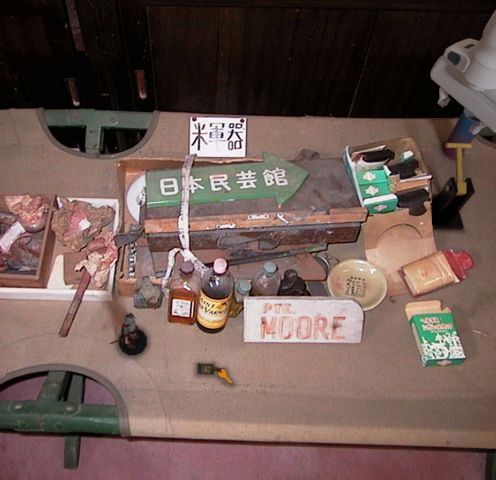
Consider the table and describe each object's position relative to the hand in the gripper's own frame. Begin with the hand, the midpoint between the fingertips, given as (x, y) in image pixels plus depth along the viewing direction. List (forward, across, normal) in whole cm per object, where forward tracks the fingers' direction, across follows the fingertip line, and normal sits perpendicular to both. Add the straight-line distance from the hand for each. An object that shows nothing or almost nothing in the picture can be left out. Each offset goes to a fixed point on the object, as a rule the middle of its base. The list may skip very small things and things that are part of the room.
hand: (457, 117), depth 116 cm
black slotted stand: (+31, -8, -4) cm, 32 cm away
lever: (+19, -4, -7) cm, 20 cm away
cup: (+31, +6, -23) cm, 39 cm away
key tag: (+30, -16, +71) cm, 79 cm away
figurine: (+30, 0, +83) cm, 89 cm away
